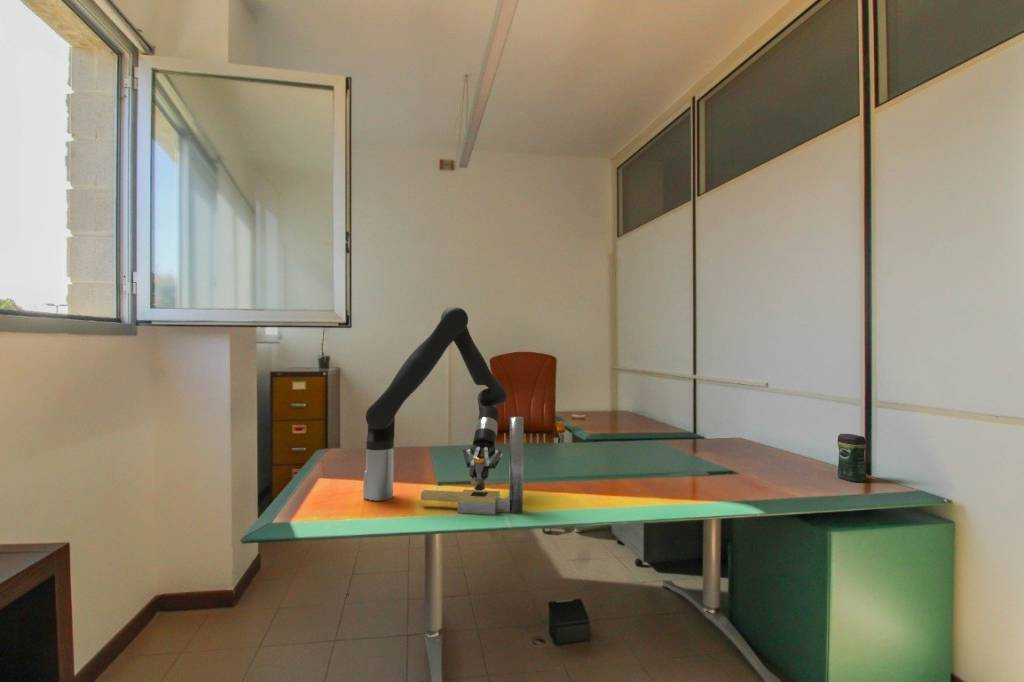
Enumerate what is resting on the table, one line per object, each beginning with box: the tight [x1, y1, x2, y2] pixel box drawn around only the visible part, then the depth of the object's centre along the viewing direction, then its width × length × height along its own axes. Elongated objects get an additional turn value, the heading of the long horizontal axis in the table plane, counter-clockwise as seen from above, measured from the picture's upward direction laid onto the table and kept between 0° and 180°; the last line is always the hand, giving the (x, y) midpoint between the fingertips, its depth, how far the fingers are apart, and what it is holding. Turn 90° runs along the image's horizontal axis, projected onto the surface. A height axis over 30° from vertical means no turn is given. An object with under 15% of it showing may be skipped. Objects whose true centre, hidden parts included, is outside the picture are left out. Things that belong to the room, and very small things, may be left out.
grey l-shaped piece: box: [420, 416, 524, 516], centre depth 164 cm, size 33×9×30 cm, turn 82°
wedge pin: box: [473, 457, 486, 490], centre depth 164 cm, size 4×4×10 cm
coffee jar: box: [837, 433, 868, 483], centre depth 207 cm, size 10×8×19 cm
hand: (478, 478), depth 162 cm, fingers closed on wedge pin, 3 cm apart
